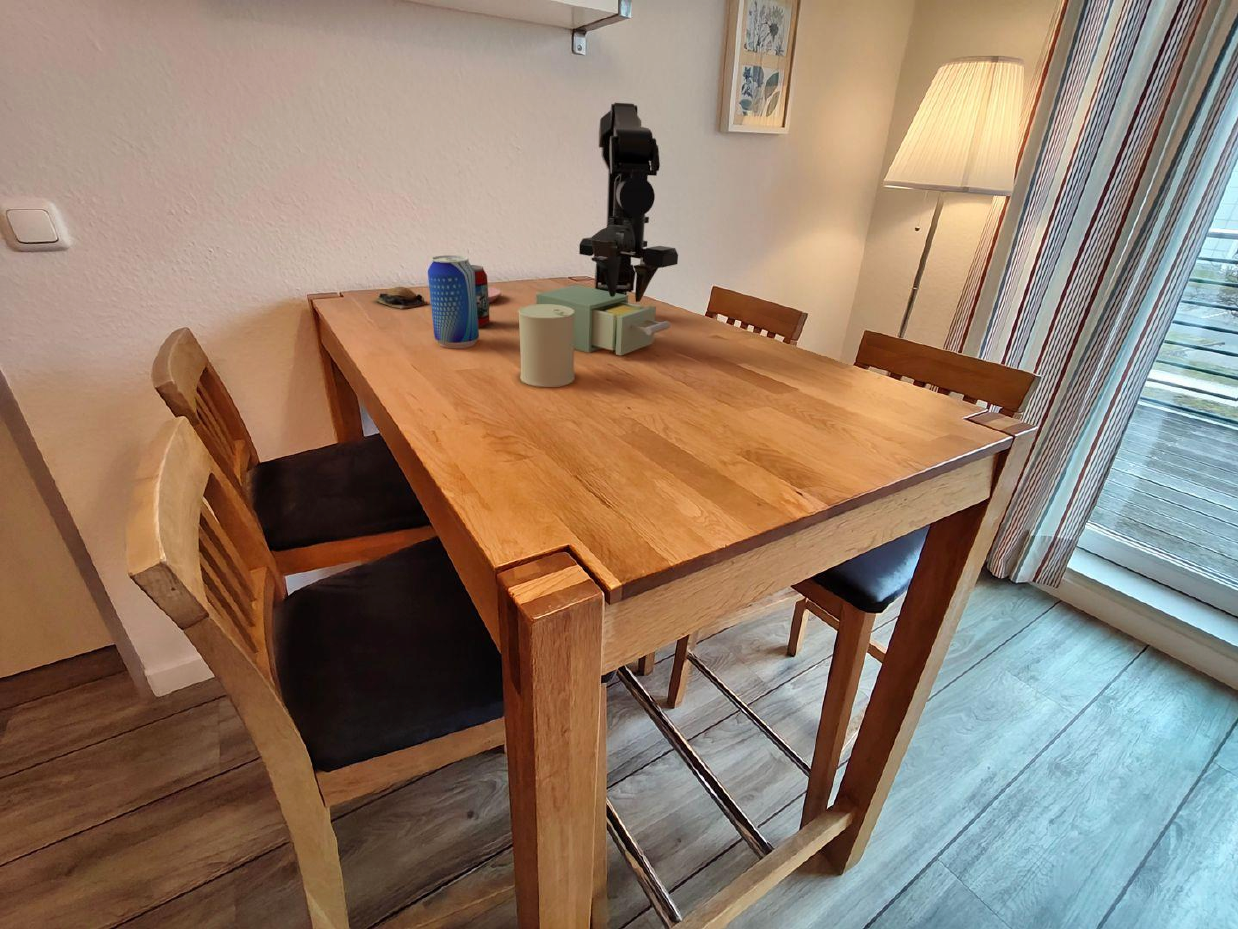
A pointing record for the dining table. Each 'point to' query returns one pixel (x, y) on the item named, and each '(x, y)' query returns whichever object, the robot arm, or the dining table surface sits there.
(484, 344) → the dining table surface
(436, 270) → the beer can
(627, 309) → the block
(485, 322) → the beverage can
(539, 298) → the cabinet
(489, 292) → the plate
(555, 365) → the can
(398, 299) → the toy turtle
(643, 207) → the robot arm
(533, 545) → the dining table surface
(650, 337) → the drawer
